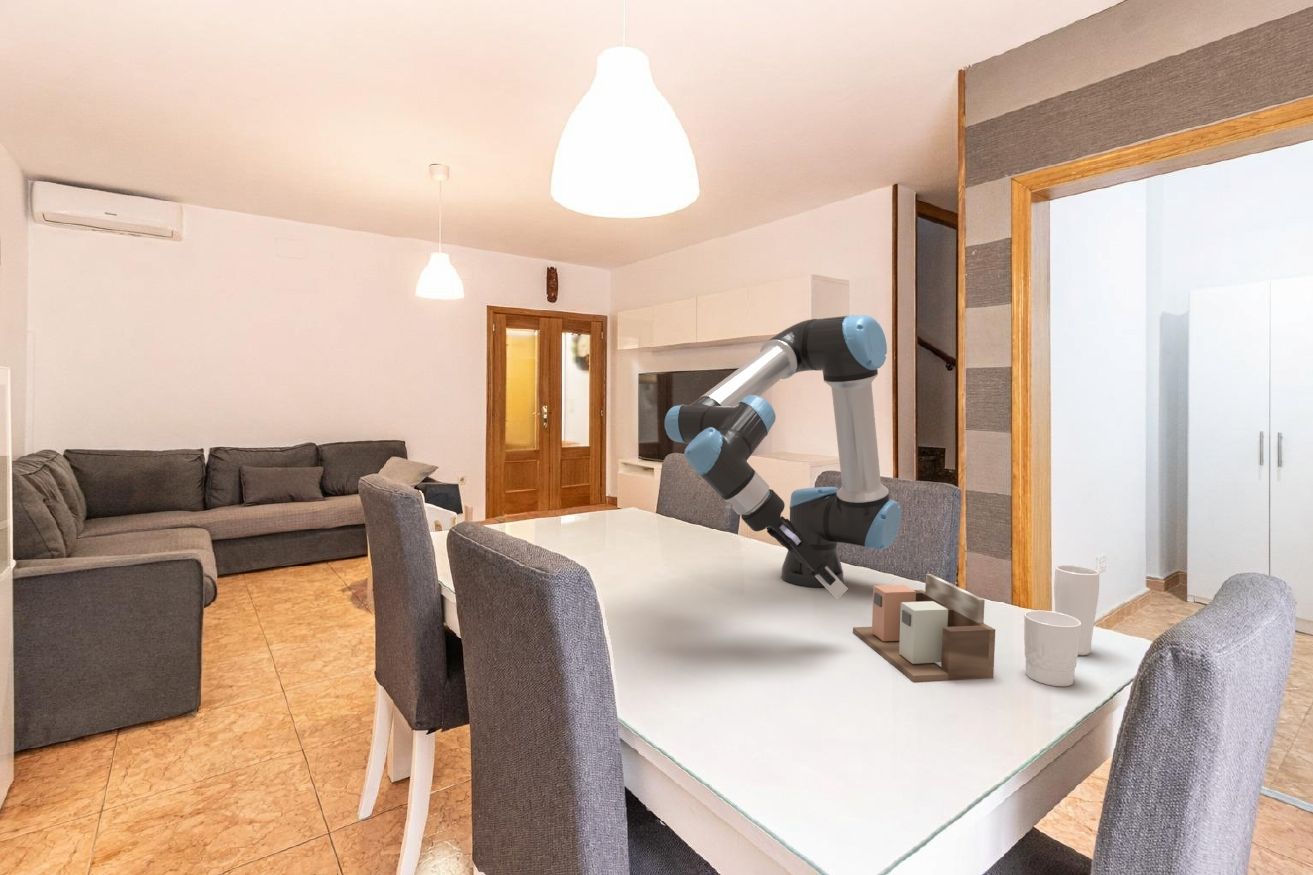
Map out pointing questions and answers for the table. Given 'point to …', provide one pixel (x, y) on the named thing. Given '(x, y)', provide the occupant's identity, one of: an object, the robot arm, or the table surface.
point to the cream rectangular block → (922, 631)
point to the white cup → (1051, 647)
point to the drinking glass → (1078, 599)
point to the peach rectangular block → (889, 610)
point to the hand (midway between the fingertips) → (841, 592)
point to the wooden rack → (946, 637)
